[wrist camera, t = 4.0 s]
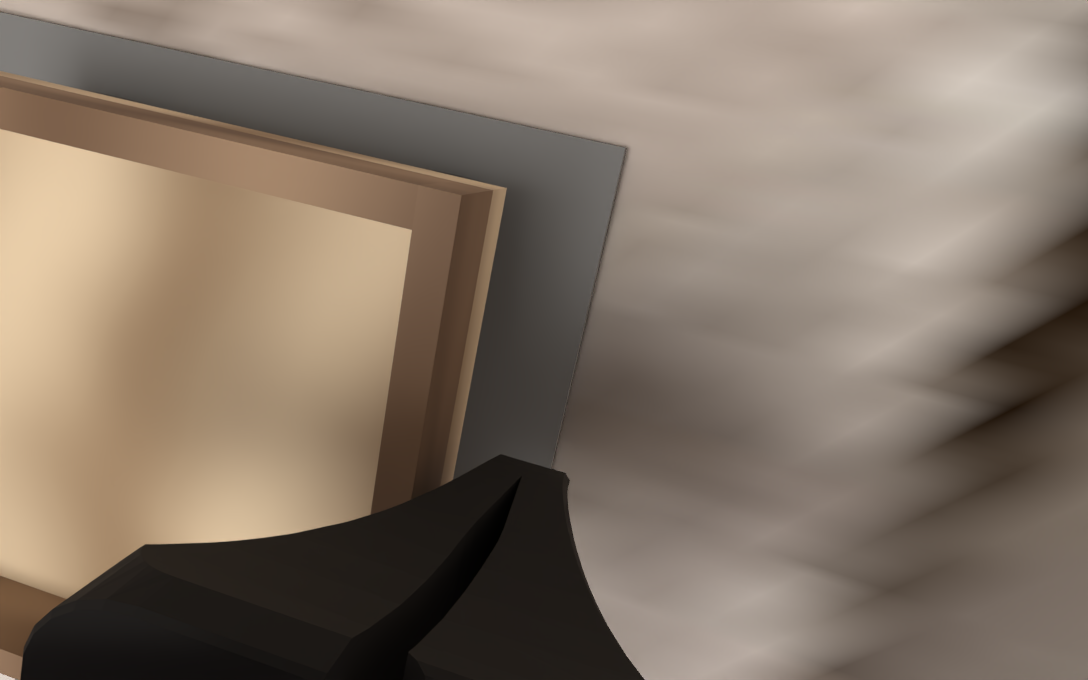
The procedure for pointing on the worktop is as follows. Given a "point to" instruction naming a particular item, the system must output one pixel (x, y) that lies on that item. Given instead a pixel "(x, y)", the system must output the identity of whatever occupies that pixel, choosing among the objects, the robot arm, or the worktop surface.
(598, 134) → the worktop surface
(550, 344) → the plate
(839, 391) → the worktop surface
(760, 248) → the worktop surface
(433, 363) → the shallow wooden tray
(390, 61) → the worktop surface
